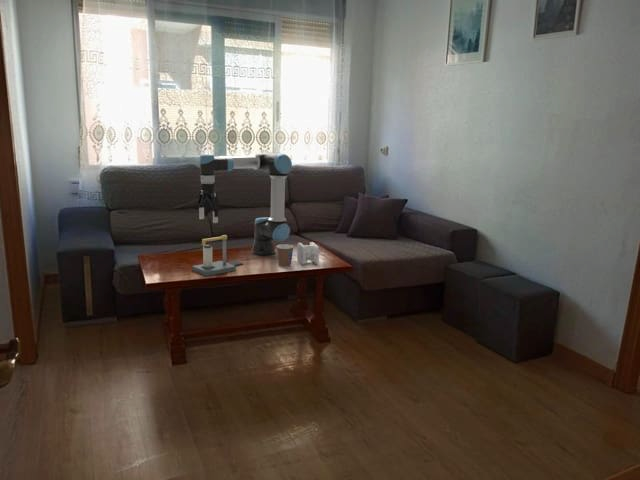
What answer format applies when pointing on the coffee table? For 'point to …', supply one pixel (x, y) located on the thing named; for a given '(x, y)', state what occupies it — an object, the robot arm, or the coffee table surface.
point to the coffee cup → (284, 254)
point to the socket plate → (216, 266)
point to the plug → (207, 257)
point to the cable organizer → (308, 253)
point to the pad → (235, 263)
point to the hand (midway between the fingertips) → (208, 220)
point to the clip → (223, 237)
